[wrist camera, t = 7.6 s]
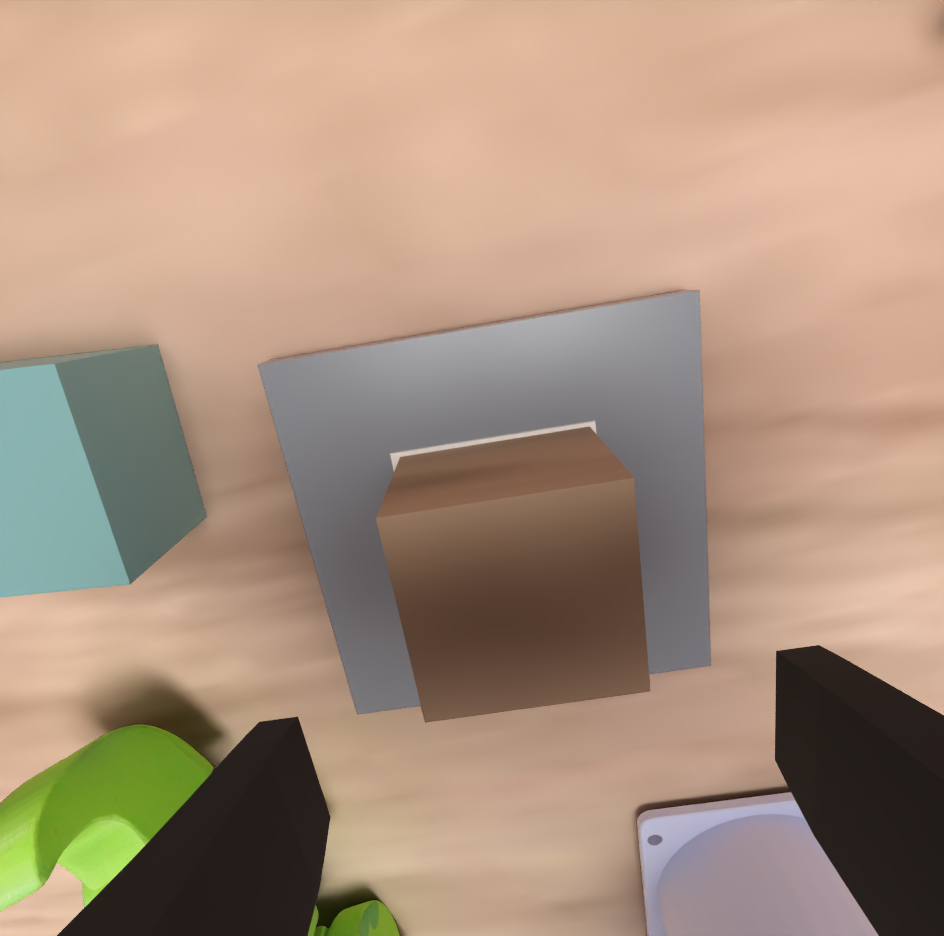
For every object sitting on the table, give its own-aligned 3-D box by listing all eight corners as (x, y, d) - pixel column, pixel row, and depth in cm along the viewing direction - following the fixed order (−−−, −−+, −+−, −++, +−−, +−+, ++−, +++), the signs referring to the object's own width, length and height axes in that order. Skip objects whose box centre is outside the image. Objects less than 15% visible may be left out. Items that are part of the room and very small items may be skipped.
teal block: (208, 514, 16) (130, 584, 13) (44, 532, 16) (-83, 605, 13) (160, 343, 15) (54, 363, 11) (-21, 364, 15) (-188, 391, 11)
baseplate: (697, 645, 18) (712, 667, 17) (362, 692, 18) (356, 717, 17) (684, 289, 14) (701, 290, 13) (271, 359, 15) (255, 364, 14)
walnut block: (606, 593, 16) (650, 691, 12) (435, 618, 16) (424, 722, 12) (589, 426, 14) (634, 477, 10) (400, 456, 14) (375, 518, 11)
